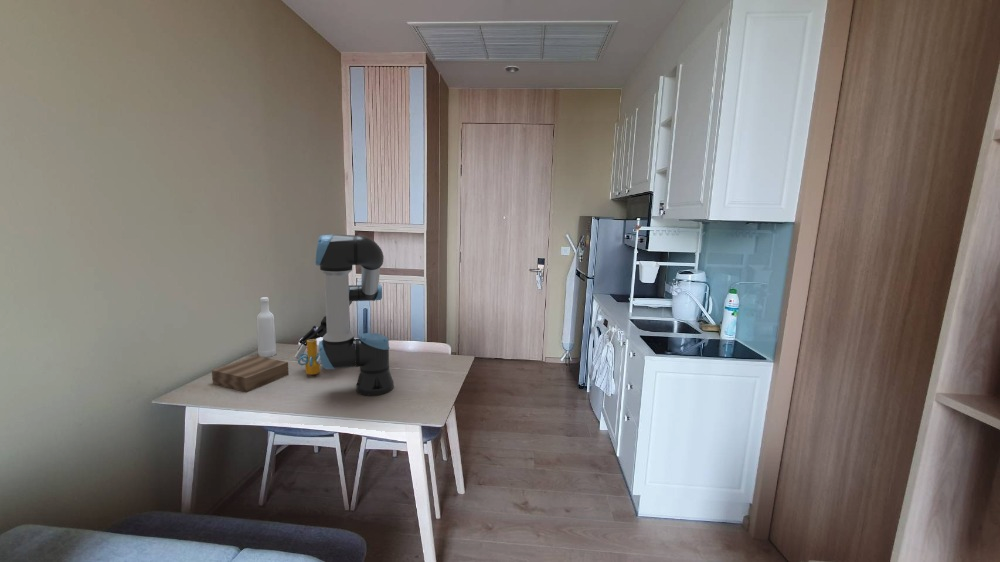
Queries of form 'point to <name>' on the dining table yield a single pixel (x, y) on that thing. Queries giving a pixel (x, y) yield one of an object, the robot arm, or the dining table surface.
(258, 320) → the bottle
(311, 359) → the yellow tube with loops
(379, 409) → the dining table surface
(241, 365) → the walnut block
